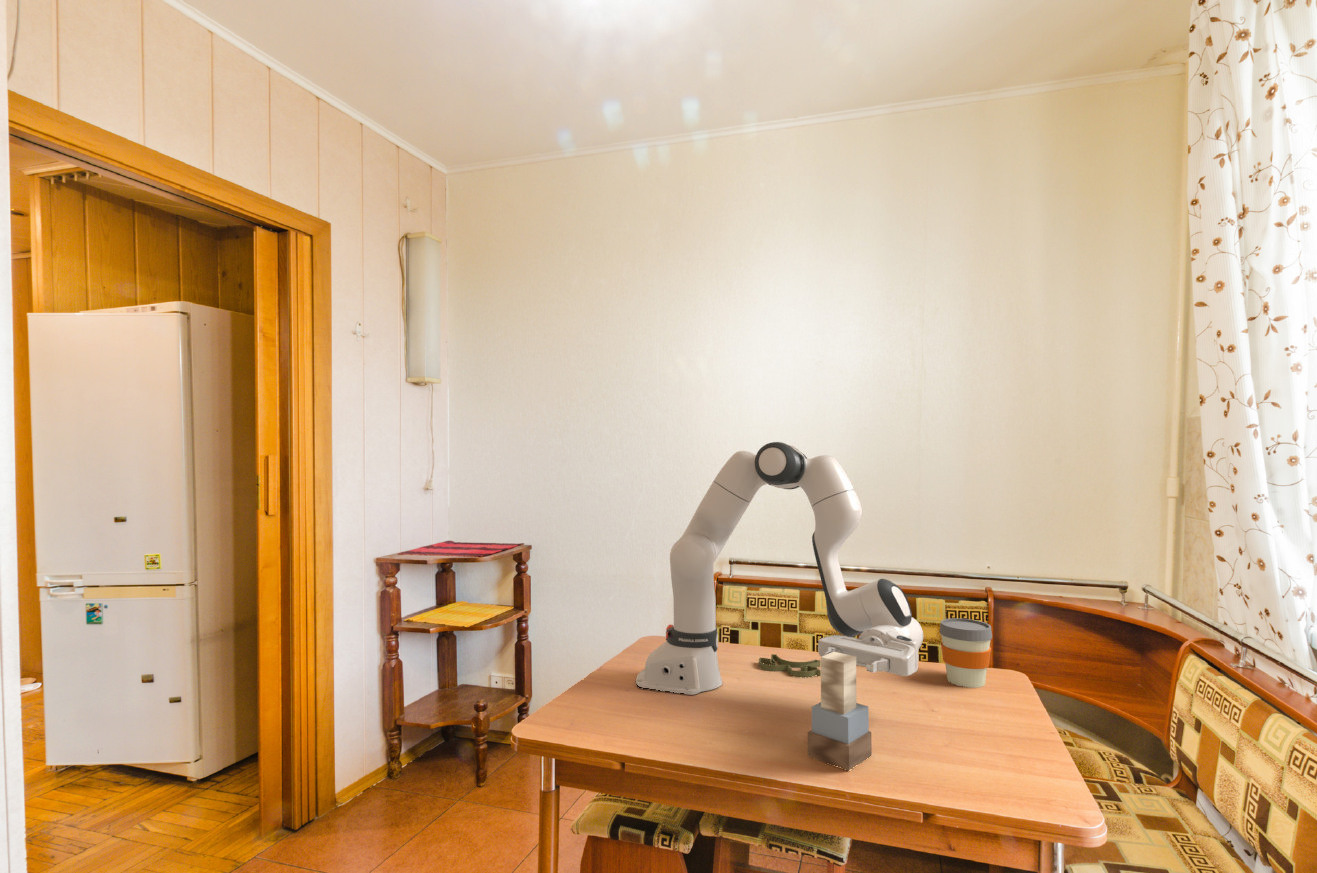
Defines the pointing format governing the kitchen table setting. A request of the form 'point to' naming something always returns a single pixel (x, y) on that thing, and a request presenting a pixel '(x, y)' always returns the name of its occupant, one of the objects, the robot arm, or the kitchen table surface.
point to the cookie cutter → (806, 667)
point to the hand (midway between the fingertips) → (848, 662)
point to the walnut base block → (839, 750)
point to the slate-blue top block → (841, 723)
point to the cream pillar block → (838, 682)
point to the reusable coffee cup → (966, 651)
